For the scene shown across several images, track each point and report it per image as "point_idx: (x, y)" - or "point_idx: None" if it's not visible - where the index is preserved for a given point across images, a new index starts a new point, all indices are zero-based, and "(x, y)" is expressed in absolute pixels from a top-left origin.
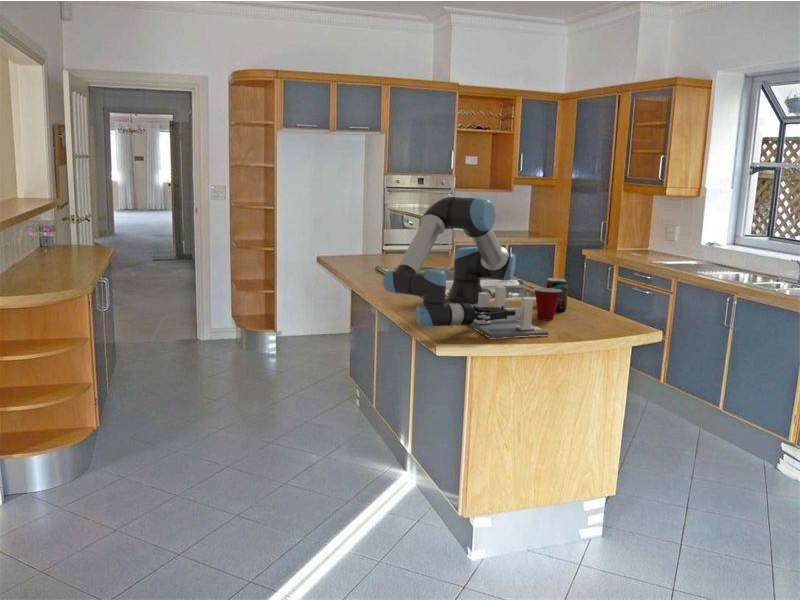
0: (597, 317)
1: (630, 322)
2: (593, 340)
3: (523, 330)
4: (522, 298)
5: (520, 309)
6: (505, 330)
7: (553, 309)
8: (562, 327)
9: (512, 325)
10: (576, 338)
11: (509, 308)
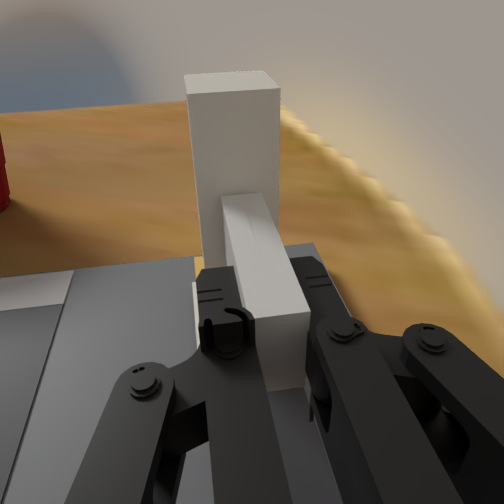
0: (55, 127)
1: (140, 104)
2: (357, 173)
3: None
4: (213, 97)
5: (266, 212)
6: (295, 478)
7: (2, 150)
8: (148, 197)
9: (111, 370)
10: (335, 198)
11: (255, 273)
